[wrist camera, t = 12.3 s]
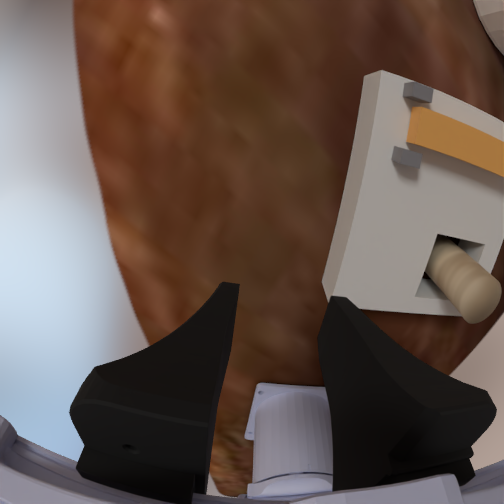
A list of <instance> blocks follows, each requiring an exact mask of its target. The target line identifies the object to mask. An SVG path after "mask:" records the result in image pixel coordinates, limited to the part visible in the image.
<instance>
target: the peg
mask: <svg viewBox="0 0 504 504" xmlns="http://www.w3.org/2000/svg"><path fill="white" fill-rule="evenodd" d="M425 272H426V273H427V274H428V276H429V277H430V278H431V279H432V280H433V281H434V283H435V284H436V285H437V286H438V287H439V288H440V290H441V291H442V292H443V293H444V294H445V296H446V297H447V298H448V299H449V300H450V302H451V303H452V304H453V305H454V307H455V308H456V309H457V310H458V312H459V313H460V314H461V315H462V317H463V318H464V319H465V320H466V321H467V322H468V323H478V322H481V321H483V320H484V319H486V318H487V317H488V316H489V315H490V314H491V313H492V312H493V311H494V309H495V308H496V306H497V305H498V302H499V300H500V297H501V285H500V283H499V282H498V281H497V280H496V279H495V278H494V277H493V276H492V275H491V274H490V273H489V272H488V271H486V270H485V269H484V268H483V267H482V266H481V265H480V264H479V263H477V262H476V261H475V260H474V259H473V258H472V257H470V256H469V255H468V254H467V253H466V252H465V251H463V250H462V249H461V248H460V247H459V246H457V245H456V244H455V243H454V242H452V241H451V240H450V239H449V238H448V237H446V236H445V235H441V234H437V237H436V240H435V243H434V246H433V249H432V252H431V254H430V257H429V260H428V263H427V266H426V268H425Z"/></svg>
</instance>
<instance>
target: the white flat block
mask: <svg viewBox="0 0 504 504" xmlns="http://www.w3.org/2000/svg"><path fill="white" fill-rule="evenodd" d="M412 107H424V108H427V109H429V110H432V111H435V112H437V113H440V114H443V115H445V116H448V117H450V118H453V119H455V120H457V121H460V122H462V123H465V124H467V125H469V126H471V127H474V128H476V129H478V130H480V131H482V132H484V133H487V134H489V135H491V136H493V137H495V138H497V139H499V140H501V141H503V142H504V122H502V121H500V120H499V119H497V118H495V117H493V116H491V115H489V114H487V113H485V112H483V111H481V110H479V109H477V108H475V107H473V106H471V105H469V104H467V103H465V102H463V101H461V100H459V99H456V98H454V97H452V96H450V95H447V94H445V93H443V92H440V91H438V90H435V89H433V88H430V87H428V86H425V85H423V84H420V83H417V82H415V81H412V80H409V79H406V78H404V77H401V76H398V75H395V74H392V73H389V72H386V71H382V70H381V71H378V72H375V73H372V74H369V75H366V76H364V81H363V88H362V95H361V101H360V107H359V114H358V120H357V125H356V131H355V137H354V142H353V148H352V153H351V158H350V163H349V168H348V173H347V178H346V183H345V187H344V192H343V197H342V201H341V206H340V210H339V215H338V219H337V223H336V227H335V232H334V236H333V240H332V244H331V248H330V252H329V256H328V260H327V264H326V268H325V271H324V275H323V279H322V284H323V287H324V290H325V293H326V296H327V299H328V303H329V300H330V297H331V295H332V296H341V297H347V298H348V299H349V300H350V301H351V302H352V303H354V304H355V305H356V306H357V307H358V308H359V309H369V310H381V311H393V312H405V313H419V314H433V315H449V316H462V315H461V314H460V313H459V312H458V310H457V309H456V308H455V307H454V305H453V304H452V303H451V302H450V300H449V299H448V298H447V297H446V296H445V294H444V293H443V292H442V291H441V290H440V288H439V287H438V286H437V285H436V284H435V283H434V281H433V280H430V279H422V277H423V274H424V271H425V268H426V266H427V263H428V260H429V257H430V254H431V252H432V249H433V246H434V243H435V240H436V237H437V234H441V235H446V236H450V237H455V238H459V239H460V241H459V244H458V246H459V247H460V248H461V249H462V250H463V251H465V252H466V253H467V254H468V255H469V256H470V257H472V258H473V259H474V260H475V261H476V262H477V263H479V264H480V265H481V266H482V267H483V268H484V269H485V270H486V271H488V272H489V273H490V274H491V271H492V269H493V266H494V264H495V261H496V258H497V256H498V253H499V250H500V248H501V245H502V242H503V239H504V177H501V176H499V175H497V174H495V173H492V172H490V171H487V170H485V169H483V168H480V167H478V166H475V165H473V164H470V163H467V162H465V161H462V160H459V159H457V158H454V157H451V156H448V155H446V154H443V153H440V152H437V151H434V150H431V149H428V148H425V147H422V146H419V145H415V144H412V143H409V142H406V139H407V134H408V129H409V123H410V117H411V111H412Z"/></svg>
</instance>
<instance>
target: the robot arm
mask: <svg viewBox="0 0 504 504" xmlns="http://www.w3.org/2000/svg"><path fill="white" fill-rule="evenodd" d="M239 286H240V284H235V283H228V282H222V283H220V284H219V286H218V288H217V289H216V290H215V292H214V293H213V294H212V296H211V297H210V298H209V299H208V300H207V301H206V302H205V304H204V305H203V306H202V307H201V308H200V309H199V310H198V311H197V312H196V313H195V314H194V315H193V316H192V317H190V318H189V319H188V320H187V321H186V322H185V323H184V324H182V325H181V326H180V327H179V328H177V329H176V330H175V331H173V332H172V333H171V334H169V335H168V336H166V337H164V338H163V339H161V340H160V341H158V342H156V343H155V344H153V345H151V346H149V347H147V348H145V349H143V350H141V351H139V352H137V353H134V354H132V355H130V356H127V357H125V358H122V359H119V360H116V361H113V362H109V363H106V364H103V365H100V366H96V367H94V369H93V370H92V371H91V373H90V374H89V375H88V377H87V378H86V379H85V381H84V382H83V384H82V385H81V387H80V389H79V391H78V393H77V395H76V397H75V399H74V400H73V402H72V404H71V407H70V412H69V413H70V416H71V420H72V422H73V424H74V426H75V428H76V430H77V432H78V434H79V436H80V438H81V439H82V441H83V443H84V445H85V446H84V448H83V451H82V453H81V455H80V458H79V460H78V462H76V461H74V460H71V459H69V458H66V457H64V456H61V455H59V454H57V453H54V452H52V451H50V450H47V449H45V448H43V447H41V446H39V445H37V444H35V443H32V442H30V441H28V440H26V439H24V438H22V437H20V436H18V435H17V432H16V431H15V429H14V427H13V426H12V425H11V424H10V423H9V422H8V421H7V420H6V419H5V418H3V417H2V416H1V415H0V504H504V460H502V461H499V462H497V463H494V464H492V465H489V466H486V467H484V468H481V469H478V470H476V471H474V469H473V467H472V464H471V462H470V459H469V458H471V457H472V456H473V454H474V453H473V450H472V448H471V446H472V445H473V443H475V442H476V441H477V439H478V438H479V437H480V436H481V435H482V434H483V433H484V432H485V431H486V430H487V429H488V427H489V426H490V425H491V424H492V422H493V420H494V418H495V416H496V411H497V409H496V407H495V405H494V403H493V401H492V399H491V397H490V396H489V394H488V392H487V391H486V390H483V389H480V388H477V387H474V386H472V385H469V384H466V383H463V382H461V381H459V380H457V379H454V378H452V377H450V376H448V375H446V374H444V373H442V372H440V371H438V370H436V369H434V368H433V367H431V366H429V365H428V364H426V363H424V362H423V361H421V360H419V359H418V358H416V357H415V356H413V355H412V354H411V353H409V352H408V351H406V350H405V349H404V348H402V347H401V346H400V345H398V344H397V343H396V342H395V341H394V340H392V339H391V338H390V337H389V336H388V335H387V334H385V333H384V332H383V331H382V330H381V329H380V328H379V327H378V326H377V325H375V324H374V323H373V322H372V321H371V320H370V319H369V318H368V317H367V316H366V315H365V314H364V313H363V312H362V311H361V310H360V309H359V308H358V307H357V306H356V305H355V304H354V303H352V302H351V301H350V300H349V299H348V298H347V297H341V296H332V295H331V297H330V300H329V303H328V306H327V310H326V313H325V316H324V319H323V322H322V326H321V329H320V332H319V335H318V352H319V361H320V366H321V371H322V375H323V380H324V385H325V387H313V386H296V385H282V384H271V383H259V384H257V386H256V390H255V394H254V399H253V403H252V407H251V411H250V415H249V420H248V424H247V428H246V432H245V438H246V439H248V440H254V456H253V483H251V484H248V493H247V494H240V495H239V496H238V497H237V498H229V497H219V496H212V495H206V492H207V484H208V475H209V467H210V459H211V452H212V444H213V436H214V429H215V421H216V414H217V407H218V402H219V397H220V393H221V389H222V385H223V381H224V377H225V373H226V369H227V364H228V360H229V356H230V352H231V346H232V338H233V331H234V323H235V316H236V308H237V301H238V294H239Z"/></svg>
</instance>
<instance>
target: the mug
mask: <svg viewBox="0 0 504 504" xmlns="http://www.w3.org/2000/svg"><path fill="white" fill-rule="evenodd" d="M473 2H474V5H475V8H476V11H477V13H478V16H479V19H480V21H481V22H482V24H483V26H484V28H485V30H486V32H487V34H488V35H489V37H490V38H491V40H492V41H493V43H494V44H495V46H496V47H497V48H498V50H499V51H500V52H501V53H502V54H503V55H504V0H473Z"/></svg>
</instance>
